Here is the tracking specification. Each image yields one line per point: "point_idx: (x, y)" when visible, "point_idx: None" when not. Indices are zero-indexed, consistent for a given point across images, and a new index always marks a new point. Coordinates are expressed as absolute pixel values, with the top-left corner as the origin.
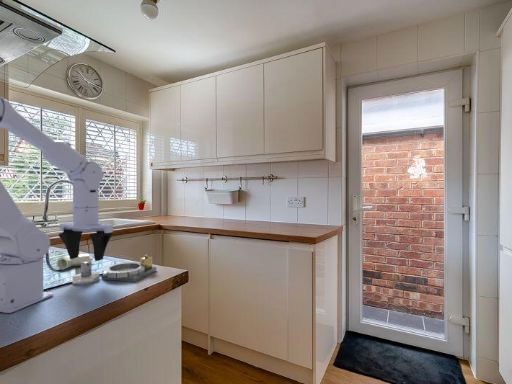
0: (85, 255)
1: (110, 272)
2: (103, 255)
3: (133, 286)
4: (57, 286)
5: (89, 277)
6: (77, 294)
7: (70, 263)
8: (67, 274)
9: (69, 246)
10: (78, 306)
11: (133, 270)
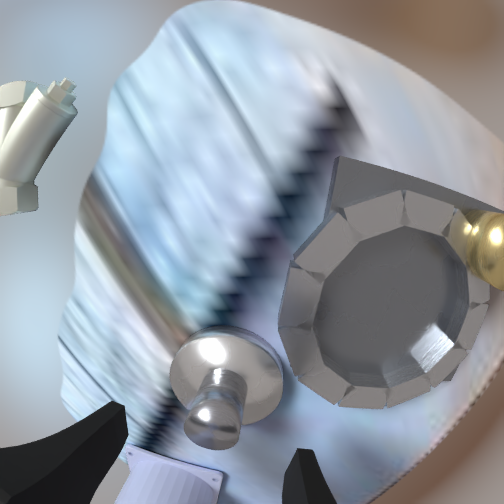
0: (35, 114)
1: (354, 407)
2: (317, 465)
3: (440, 403)
4: (165, 414)
5: (256, 407)
6: (285, 466)
7: (28, 191)
8: (86, 281)
9: (94, 490)
10: None
11: (451, 365)
